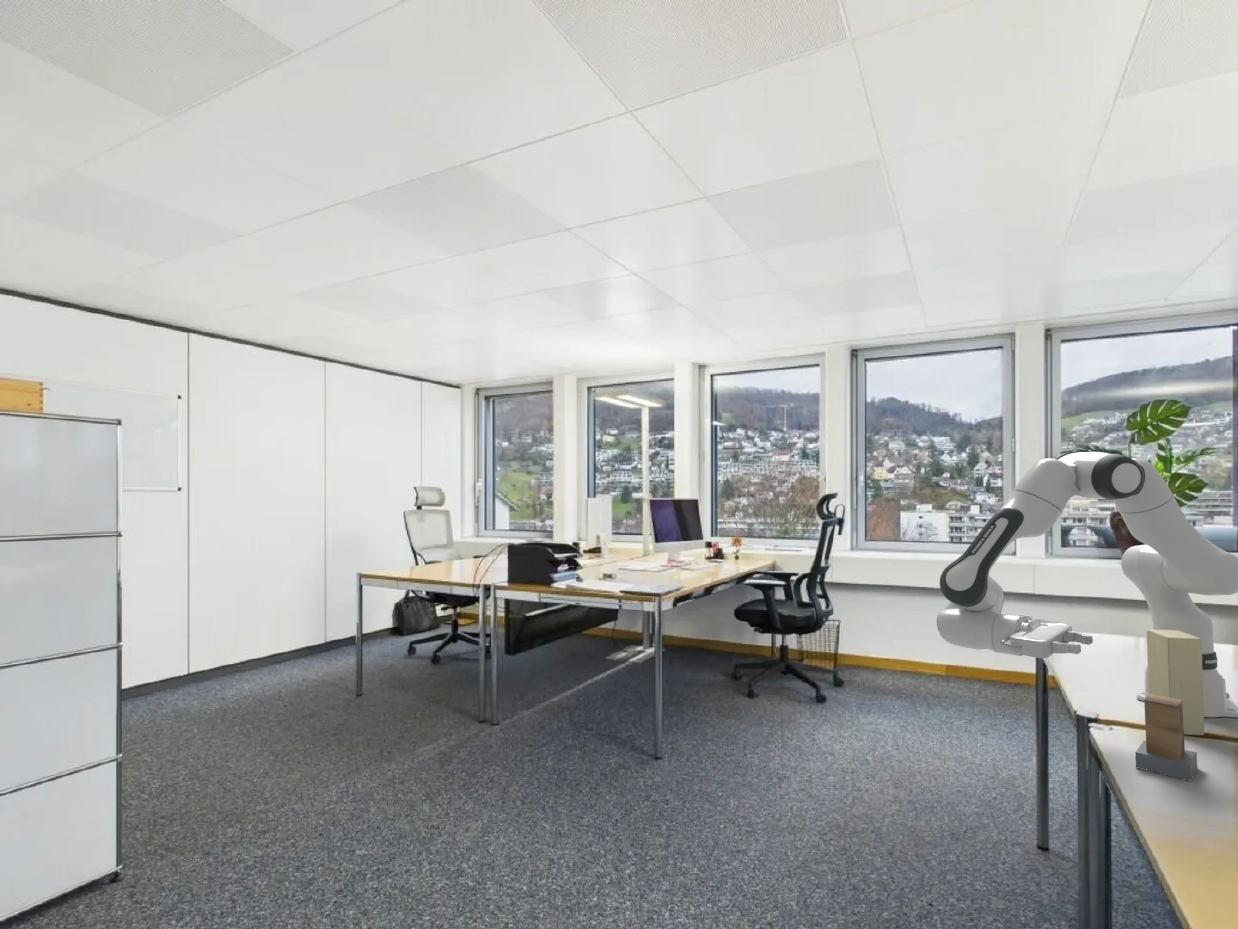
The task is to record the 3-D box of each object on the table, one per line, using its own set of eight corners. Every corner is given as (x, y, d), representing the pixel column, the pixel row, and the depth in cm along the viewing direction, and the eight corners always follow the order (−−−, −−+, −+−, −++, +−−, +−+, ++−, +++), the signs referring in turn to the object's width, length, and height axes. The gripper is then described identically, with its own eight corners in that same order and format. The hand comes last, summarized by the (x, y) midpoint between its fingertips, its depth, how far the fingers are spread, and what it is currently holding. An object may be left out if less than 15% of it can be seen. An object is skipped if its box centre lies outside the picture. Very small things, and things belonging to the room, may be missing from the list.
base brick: (1144, 755, 131) (1143, 740, 131) (1197, 768, 125) (1196, 752, 125) (1135, 767, 125) (1135, 752, 125) (1190, 781, 119) (1190, 765, 119)
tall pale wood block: (1210, 736, 140) (1205, 638, 140) (1170, 734, 141) (1166, 637, 142) (1185, 722, 147) (1181, 630, 148) (1148, 721, 149) (1144, 629, 150)
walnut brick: (1151, 744, 129) (1149, 693, 129) (1184, 752, 125) (1182, 699, 125) (1146, 752, 125) (1144, 699, 126) (1180, 760, 122) (1178, 706, 122)
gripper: (996, 629, 141) (1071, 639, 130) (1026, 613, 154) (1097, 621, 144) (997, 659, 141) (1073, 671, 130) (1028, 640, 154) (1099, 649, 144)
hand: (1086, 644), depth 137 cm, fingers open, 8 cm apart
